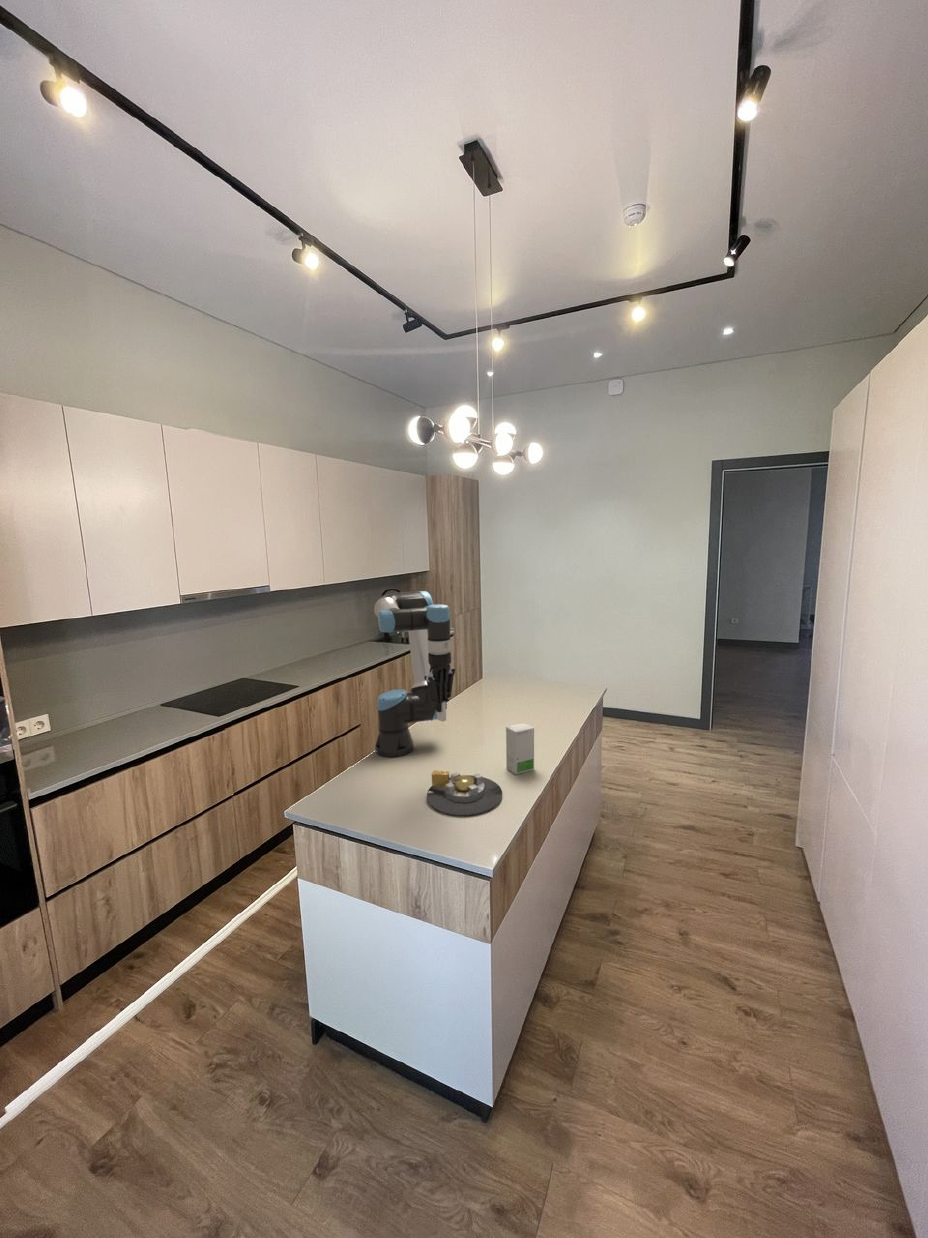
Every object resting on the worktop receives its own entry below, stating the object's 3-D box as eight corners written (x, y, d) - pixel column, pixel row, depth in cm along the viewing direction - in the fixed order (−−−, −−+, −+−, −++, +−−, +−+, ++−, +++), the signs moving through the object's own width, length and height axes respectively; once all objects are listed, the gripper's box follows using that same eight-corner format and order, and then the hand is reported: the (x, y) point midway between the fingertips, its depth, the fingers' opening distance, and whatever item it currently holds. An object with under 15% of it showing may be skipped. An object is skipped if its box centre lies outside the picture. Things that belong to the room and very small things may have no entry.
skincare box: (515, 775, 166) (514, 732, 164) (505, 768, 172) (504, 726, 169) (535, 769, 170) (535, 727, 167) (524, 762, 176) (524, 721, 173)
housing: (416, 812, 145) (415, 795, 144) (439, 775, 168) (438, 760, 167) (494, 820, 139) (494, 802, 138) (507, 781, 162) (507, 765, 161)
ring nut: (487, 784, 158) (486, 766, 157) (480, 804, 146) (480, 785, 145) (438, 780, 161) (437, 763, 160) (427, 799, 149) (427, 781, 148)
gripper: (434, 657, 150) (436, 728, 154) (461, 649, 160) (462, 716, 164) (417, 654, 155) (420, 723, 159) (444, 646, 165) (446, 711, 169)
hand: (441, 720), depth 162 cm, fingers closed
